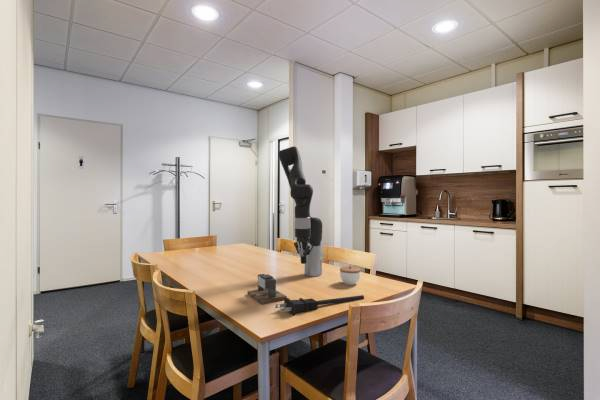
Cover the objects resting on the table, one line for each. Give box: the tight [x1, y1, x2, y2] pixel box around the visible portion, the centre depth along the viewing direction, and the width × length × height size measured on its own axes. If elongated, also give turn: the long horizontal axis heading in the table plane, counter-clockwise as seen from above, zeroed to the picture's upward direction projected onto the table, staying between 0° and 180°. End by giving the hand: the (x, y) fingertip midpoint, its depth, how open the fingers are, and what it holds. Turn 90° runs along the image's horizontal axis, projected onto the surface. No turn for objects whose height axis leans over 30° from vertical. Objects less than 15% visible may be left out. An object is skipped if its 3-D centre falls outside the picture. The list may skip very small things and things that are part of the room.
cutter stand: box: [247, 273, 288, 305], centre depth 144 cm, size 16×12×9 cm
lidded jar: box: [339, 265, 362, 286], centre depth 167 cm, size 11×11×9 cm
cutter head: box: [257, 273, 276, 294], centre depth 144 cm, size 7×5×8 cm
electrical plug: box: [274, 294, 365, 316], centre depth 133 cm, size 9×42×5 cm, turn 117°
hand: (303, 263), depth 150 cm, fingers closed
